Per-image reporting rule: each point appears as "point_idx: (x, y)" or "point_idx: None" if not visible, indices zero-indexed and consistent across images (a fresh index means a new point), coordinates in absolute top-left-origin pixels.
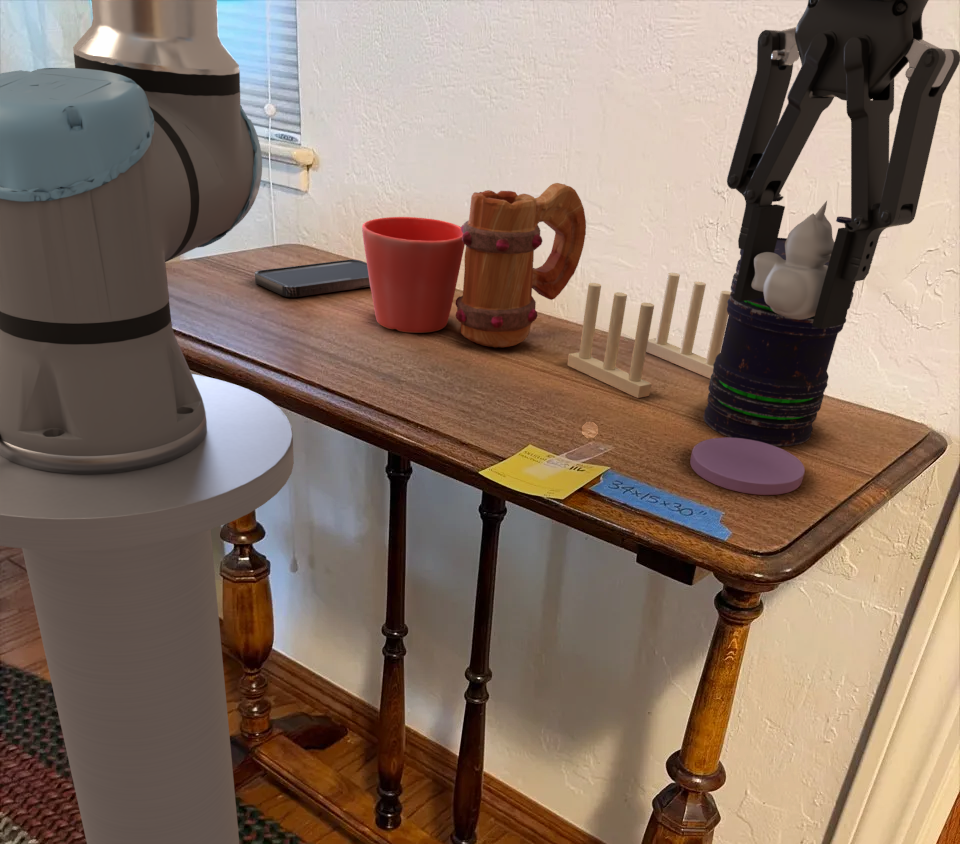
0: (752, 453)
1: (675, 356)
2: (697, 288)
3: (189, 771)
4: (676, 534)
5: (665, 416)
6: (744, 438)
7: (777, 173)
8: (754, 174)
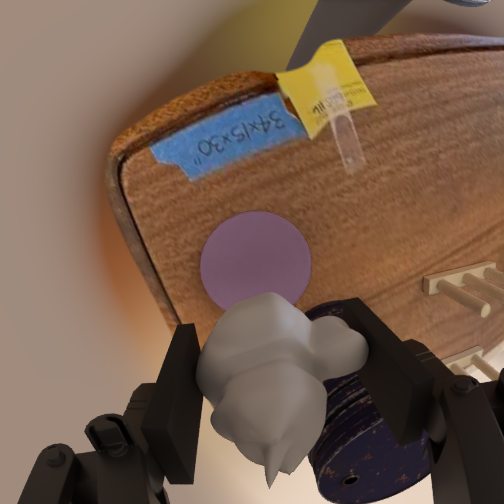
0: (266, 282)
1: (456, 358)
2: None
3: (323, 6)
4: (174, 113)
5: (385, 275)
6: (310, 311)
7: (446, 461)
8: (489, 412)
